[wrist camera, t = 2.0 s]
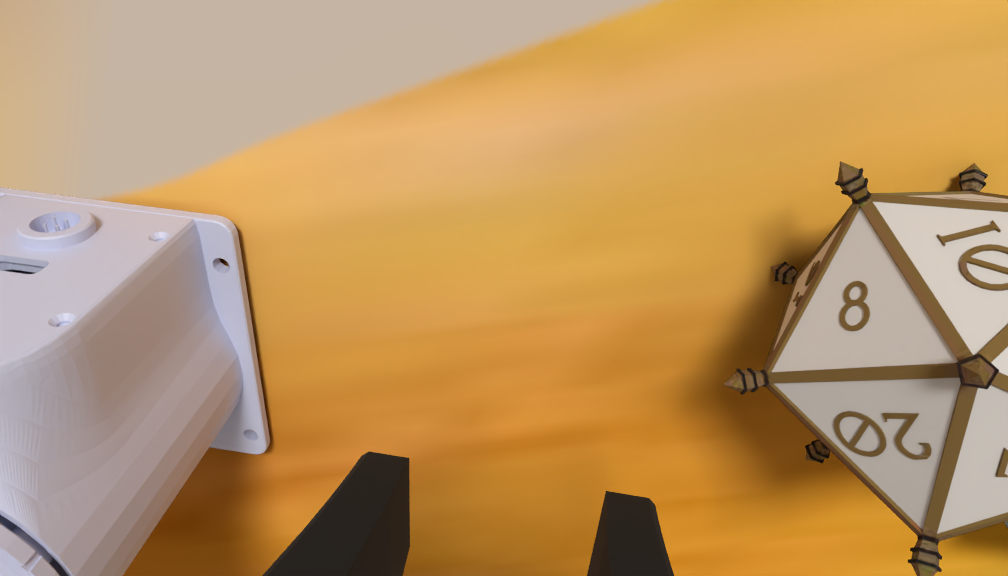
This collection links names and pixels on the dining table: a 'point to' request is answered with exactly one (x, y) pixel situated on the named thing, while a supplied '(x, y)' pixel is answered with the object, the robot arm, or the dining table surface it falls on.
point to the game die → (904, 354)
